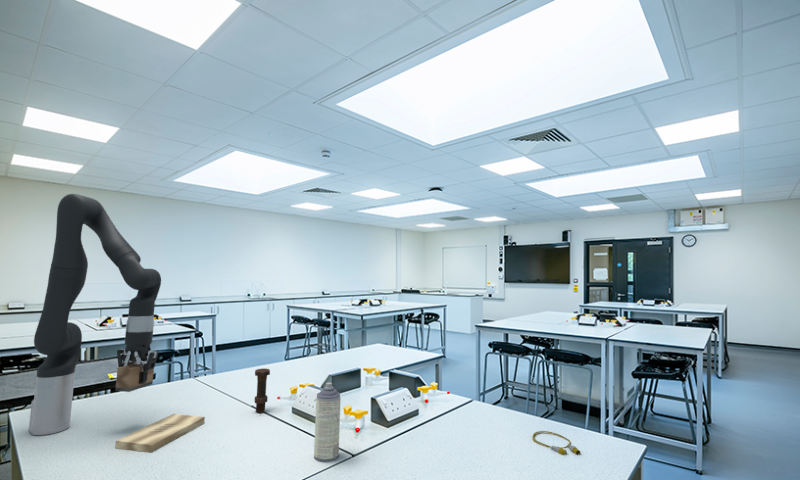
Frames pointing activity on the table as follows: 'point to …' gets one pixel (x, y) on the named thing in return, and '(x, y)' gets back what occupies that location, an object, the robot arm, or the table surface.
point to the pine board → (159, 433)
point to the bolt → (261, 389)
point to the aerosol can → (327, 424)
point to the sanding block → (131, 378)
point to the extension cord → (557, 449)
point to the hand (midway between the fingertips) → (134, 382)
